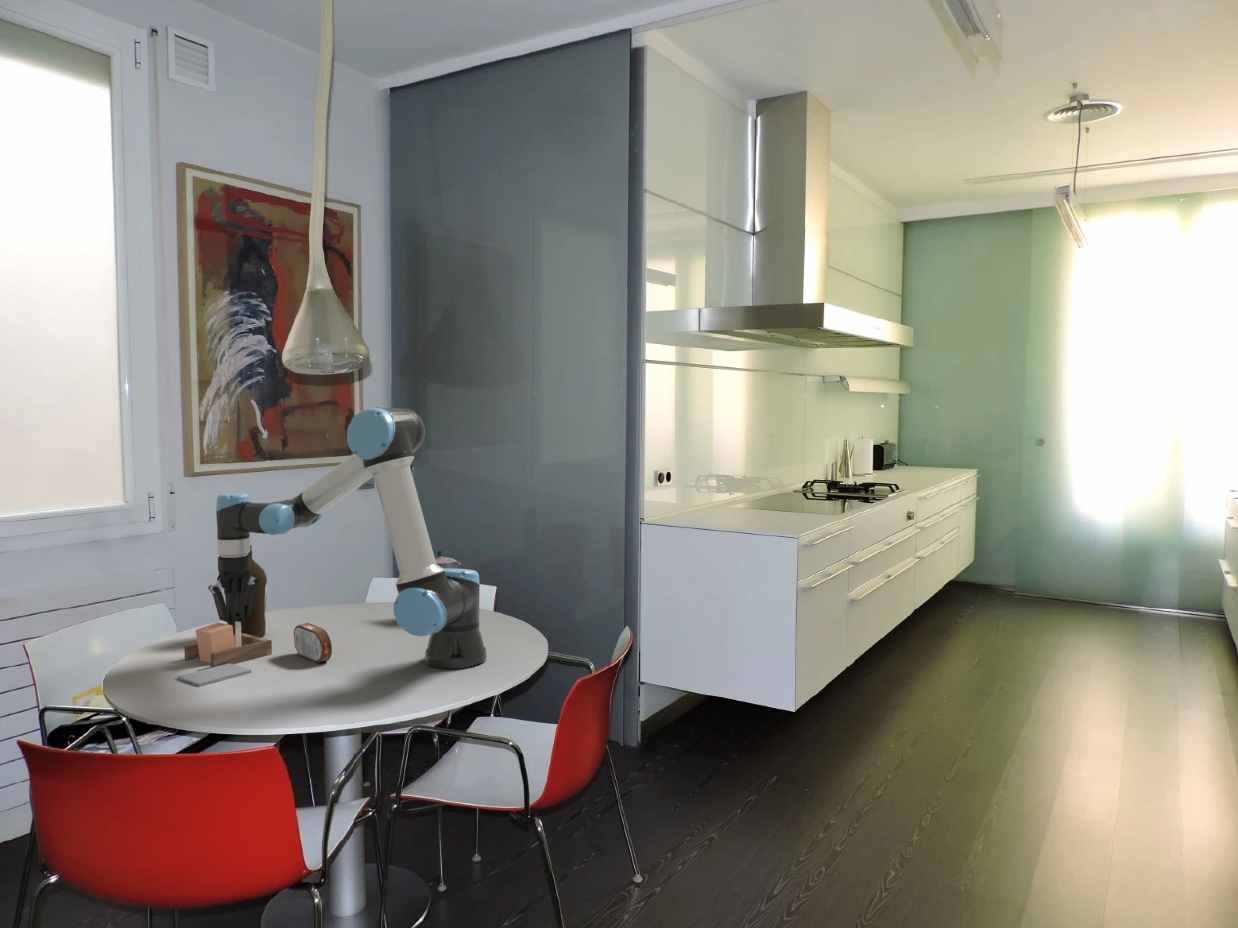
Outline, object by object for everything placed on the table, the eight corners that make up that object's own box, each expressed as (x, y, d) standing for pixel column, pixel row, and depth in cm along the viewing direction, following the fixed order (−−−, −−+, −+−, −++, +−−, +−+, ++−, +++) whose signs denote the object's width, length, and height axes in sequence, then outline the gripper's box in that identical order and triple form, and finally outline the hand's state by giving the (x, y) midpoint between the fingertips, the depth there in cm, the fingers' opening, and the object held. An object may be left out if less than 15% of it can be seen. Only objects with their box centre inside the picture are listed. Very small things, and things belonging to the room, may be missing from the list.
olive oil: (234, 643, 234) (232, 550, 233) (219, 635, 242) (218, 545, 240) (274, 636, 242) (272, 546, 240) (259, 629, 249) (257, 541, 248)
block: (236, 656, 221) (232, 625, 219) (214, 664, 216) (210, 633, 215) (221, 652, 224) (217, 622, 223) (199, 660, 219) (195, 629, 218)
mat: (251, 672, 210) (251, 669, 210) (199, 686, 199) (199, 683, 199) (229, 665, 215) (229, 663, 215) (177, 679, 204) (177, 676, 204)
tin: (333, 663, 217) (332, 630, 217) (321, 666, 215) (320, 632, 215) (303, 651, 228) (302, 619, 227) (291, 654, 225) (291, 621, 225)
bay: (271, 654, 225) (271, 640, 225) (214, 668, 212) (214, 654, 212) (241, 645, 232) (241, 632, 232) (184, 659, 219) (184, 645, 219)
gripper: (248, 549, 230) (250, 638, 231) (201, 556, 219) (203, 649, 221) (265, 552, 225) (267, 643, 227) (218, 560, 215) (220, 655, 217)
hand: (235, 646), depth 224 cm, fingers closed
